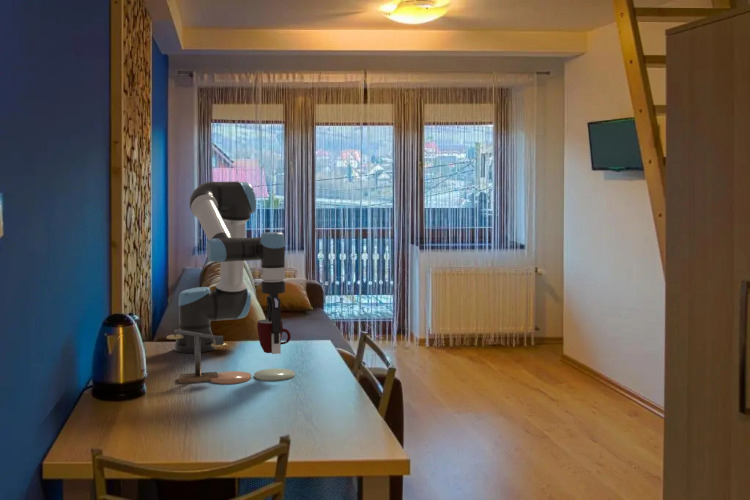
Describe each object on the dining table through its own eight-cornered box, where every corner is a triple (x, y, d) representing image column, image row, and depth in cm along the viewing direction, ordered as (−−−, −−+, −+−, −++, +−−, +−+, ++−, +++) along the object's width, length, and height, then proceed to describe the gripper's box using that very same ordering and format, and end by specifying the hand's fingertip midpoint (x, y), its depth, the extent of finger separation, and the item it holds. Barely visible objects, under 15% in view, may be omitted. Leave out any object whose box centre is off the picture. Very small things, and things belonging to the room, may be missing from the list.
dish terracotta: (208, 375, 244) (208, 372, 244) (249, 373, 248) (249, 370, 248) (210, 385, 232) (210, 382, 232) (253, 382, 235) (253, 379, 235)
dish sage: (252, 372, 248) (252, 370, 248) (291, 370, 252) (291, 367, 252) (256, 382, 236) (256, 379, 236) (297, 379, 239) (297, 376, 239)
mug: (290, 348, 248) (290, 318, 247) (290, 354, 240) (290, 322, 239) (258, 349, 246) (257, 319, 245) (257, 354, 238) (256, 323, 237)
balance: (167, 379, 240) (166, 328, 238) (227, 375, 245) (226, 325, 243) (167, 384, 234) (166, 331, 233) (228, 379, 239) (227, 328, 238)
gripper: (257, 277, 251) (258, 345, 252) (265, 284, 231) (266, 358, 232) (280, 277, 253) (281, 344, 254) (290, 283, 233) (291, 356, 234)
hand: (274, 350), depth 243 cm, fingers closed on mug, 8 cm apart
